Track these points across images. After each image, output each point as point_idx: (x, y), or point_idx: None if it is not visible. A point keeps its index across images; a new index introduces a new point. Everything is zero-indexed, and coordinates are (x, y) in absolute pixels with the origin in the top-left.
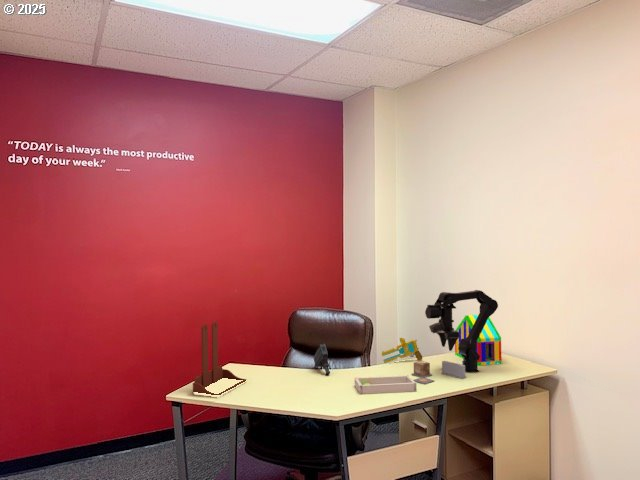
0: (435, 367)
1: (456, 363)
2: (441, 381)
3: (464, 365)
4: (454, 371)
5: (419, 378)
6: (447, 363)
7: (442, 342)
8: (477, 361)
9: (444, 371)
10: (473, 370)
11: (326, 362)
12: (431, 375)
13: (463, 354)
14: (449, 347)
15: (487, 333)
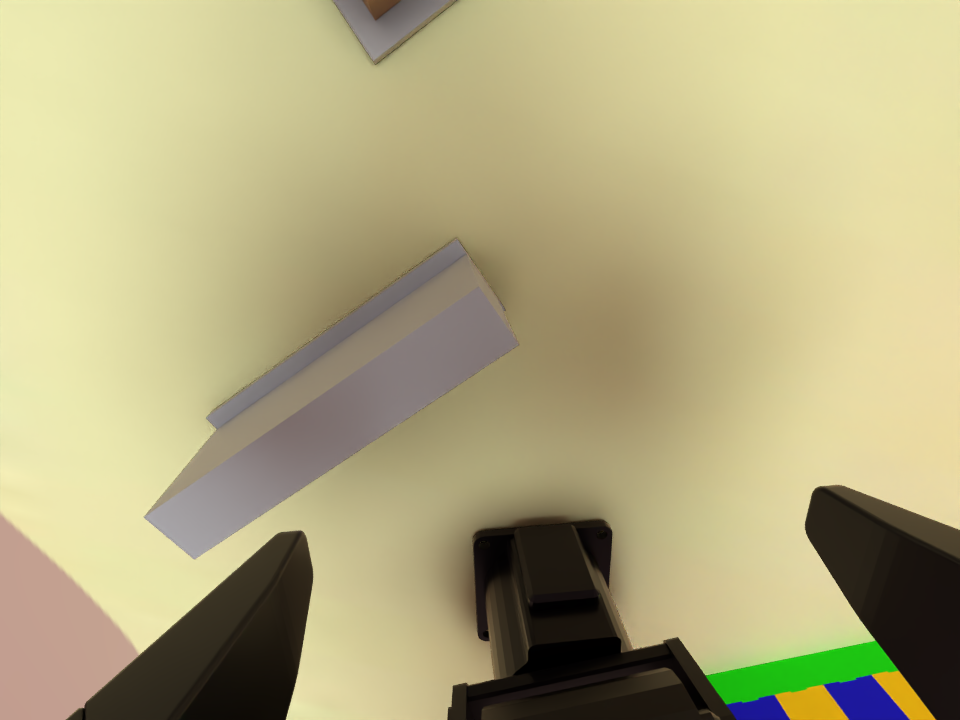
0: (755, 254)
1: (317, 477)
2: (59, 106)
3: (191, 551)
4: (297, 383)
5: None
6: (381, 350)
7: (930, 575)
8: (728, 707)
9: (434, 279)
10: (485, 599)
11: None
12: (365, 49)
13: (572, 689)
14: (194, 610)
15: None
